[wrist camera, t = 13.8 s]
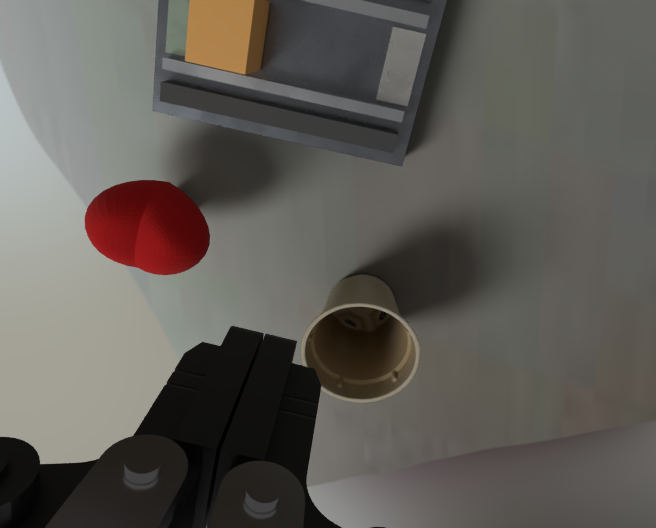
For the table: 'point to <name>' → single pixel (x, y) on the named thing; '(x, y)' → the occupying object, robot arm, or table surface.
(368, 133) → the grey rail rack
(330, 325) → the flower pot
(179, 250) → the red heart figurine
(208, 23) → the tan cardboard cube
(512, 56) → the table surface
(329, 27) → the panel
